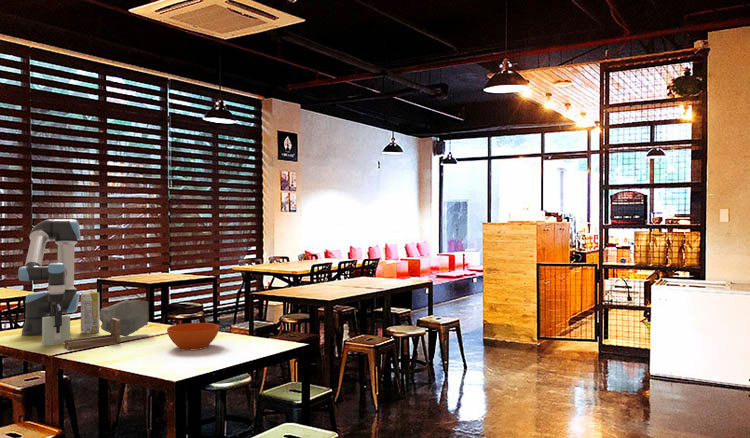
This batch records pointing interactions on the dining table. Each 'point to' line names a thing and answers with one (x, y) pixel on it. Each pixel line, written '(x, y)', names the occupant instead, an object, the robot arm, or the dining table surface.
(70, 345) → the track
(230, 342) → the dining table surface
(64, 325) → the door panel
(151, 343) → the dining table surface
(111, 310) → the rock
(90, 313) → the juice carton
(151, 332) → the dining table surface
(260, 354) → the dining table surface
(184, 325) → the bowl
